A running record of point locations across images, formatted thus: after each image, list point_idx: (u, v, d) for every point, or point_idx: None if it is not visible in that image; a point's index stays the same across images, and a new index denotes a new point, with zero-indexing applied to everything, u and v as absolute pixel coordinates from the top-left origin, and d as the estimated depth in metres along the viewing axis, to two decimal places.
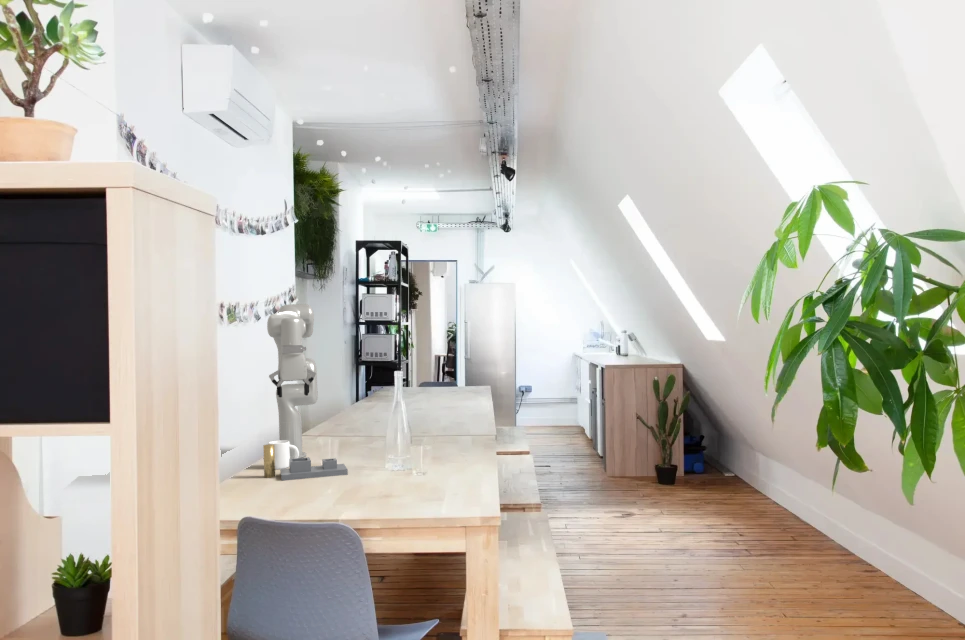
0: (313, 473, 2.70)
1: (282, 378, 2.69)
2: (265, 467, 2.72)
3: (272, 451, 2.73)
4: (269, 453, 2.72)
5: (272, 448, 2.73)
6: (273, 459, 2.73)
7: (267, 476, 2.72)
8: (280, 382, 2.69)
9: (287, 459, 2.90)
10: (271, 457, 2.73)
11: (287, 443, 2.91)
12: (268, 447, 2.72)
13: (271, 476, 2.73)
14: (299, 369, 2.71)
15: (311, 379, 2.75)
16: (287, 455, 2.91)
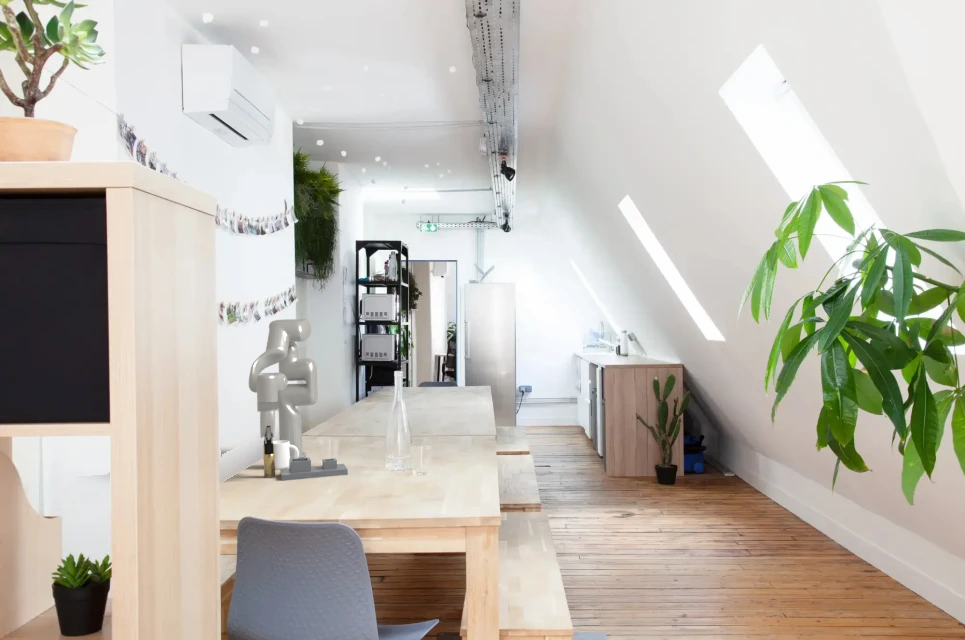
0: (313, 473, 2.70)
1: None
2: (265, 467, 2.72)
3: None
4: None
5: None
6: (273, 459, 2.73)
7: (267, 476, 2.72)
8: (272, 439, 2.70)
9: (287, 459, 2.90)
10: (271, 457, 2.73)
11: (287, 443, 2.91)
12: None
13: (271, 476, 2.73)
14: None
15: None
16: (287, 455, 2.91)
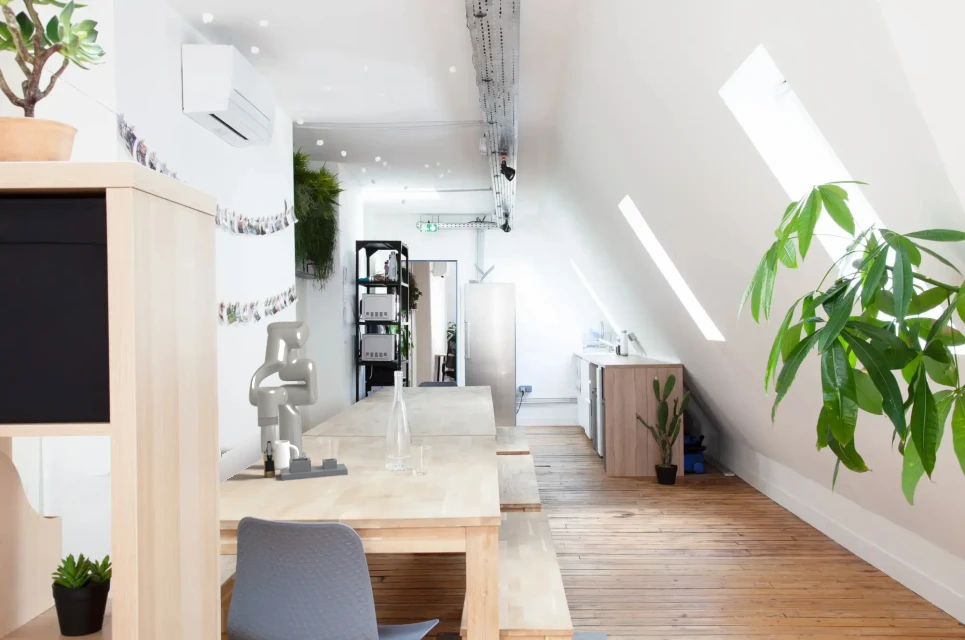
0: (313, 473, 2.70)
1: (274, 449, 2.71)
2: None
3: None
4: None
5: None
6: (273, 459, 2.73)
7: (267, 476, 2.72)
8: None
9: (287, 459, 2.90)
10: None
11: (287, 443, 2.91)
12: None
13: (271, 476, 2.73)
14: None
15: None
16: (287, 455, 2.91)
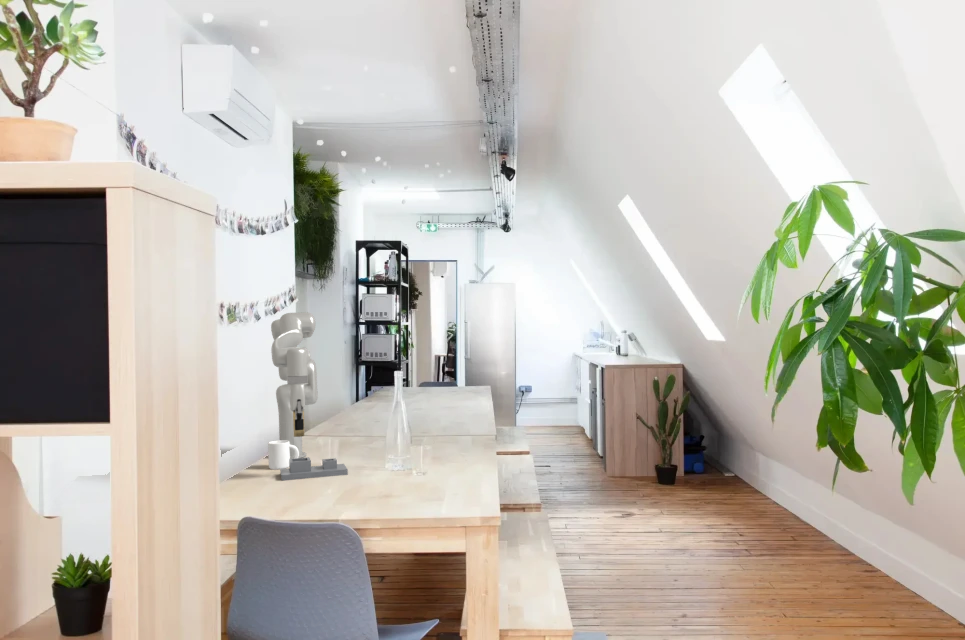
0: (313, 473, 2.70)
1: (304, 408, 2.71)
2: None
3: (301, 410, 2.73)
4: None
5: None
6: None
7: (297, 435, 2.73)
8: (302, 414, 2.72)
9: (287, 459, 2.90)
10: None
11: (287, 443, 2.91)
12: None
13: (300, 434, 2.73)
14: None
15: None
16: (287, 455, 2.91)
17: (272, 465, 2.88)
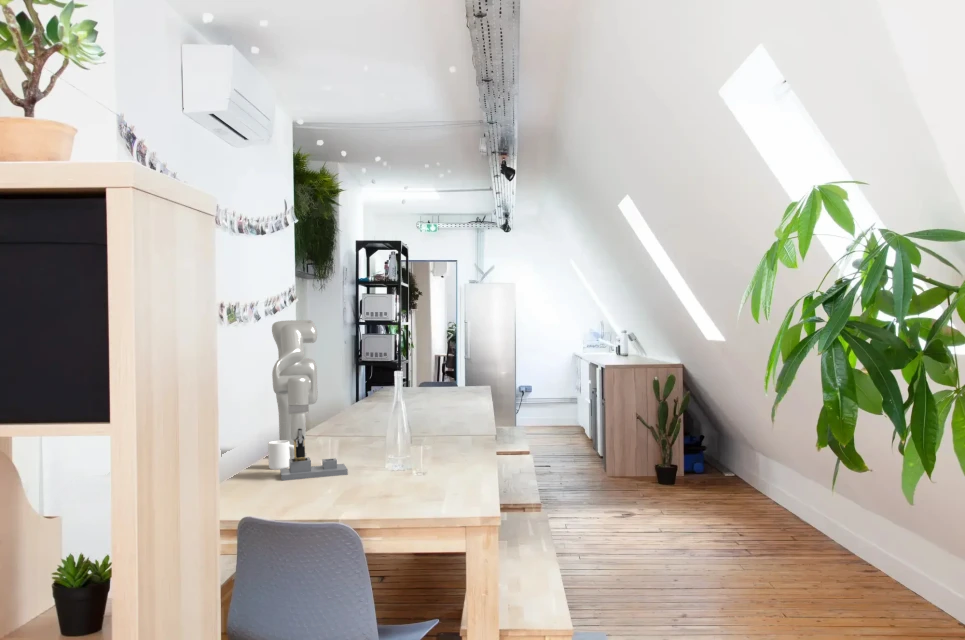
0: (313, 473, 2.70)
1: (305, 437, 2.71)
2: (296, 460, 2.73)
3: None
4: None
5: None
6: None
7: None
8: (303, 442, 2.71)
9: (287, 459, 2.90)
10: None
11: (287, 443, 2.91)
12: None
13: None
14: None
15: None
16: (287, 455, 2.91)
17: (272, 465, 2.88)
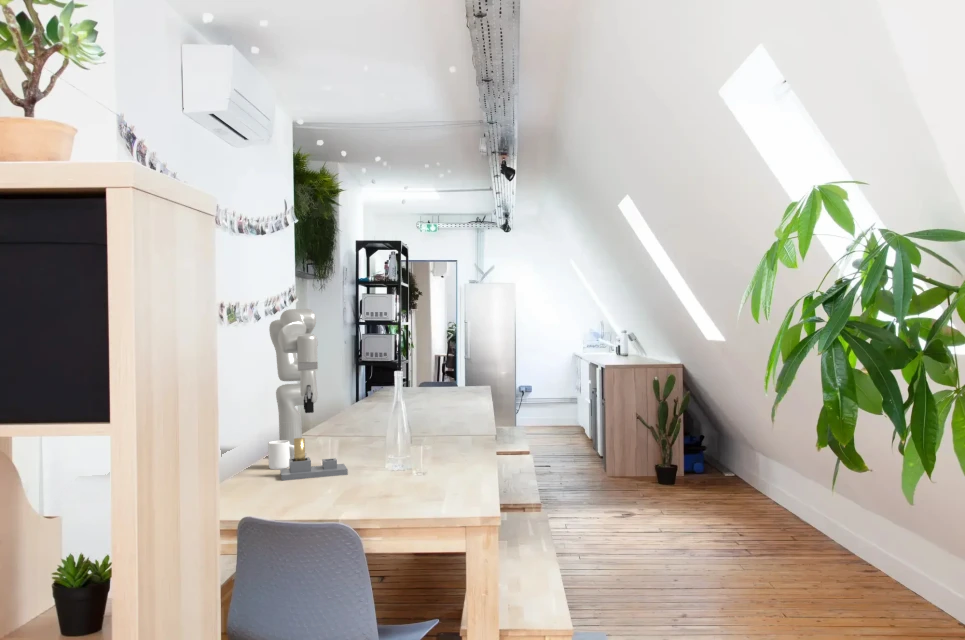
0: (313, 473, 2.70)
1: (314, 393, 2.77)
2: (296, 460, 2.73)
3: (302, 444, 2.74)
4: (300, 446, 2.73)
5: (302, 441, 2.74)
6: (303, 452, 2.74)
7: None
8: (312, 398, 2.76)
9: (287, 459, 2.90)
10: (301, 450, 2.73)
11: (287, 443, 2.91)
12: (299, 440, 2.73)
13: None
14: None
15: None
16: (287, 455, 2.91)
17: (272, 465, 2.88)
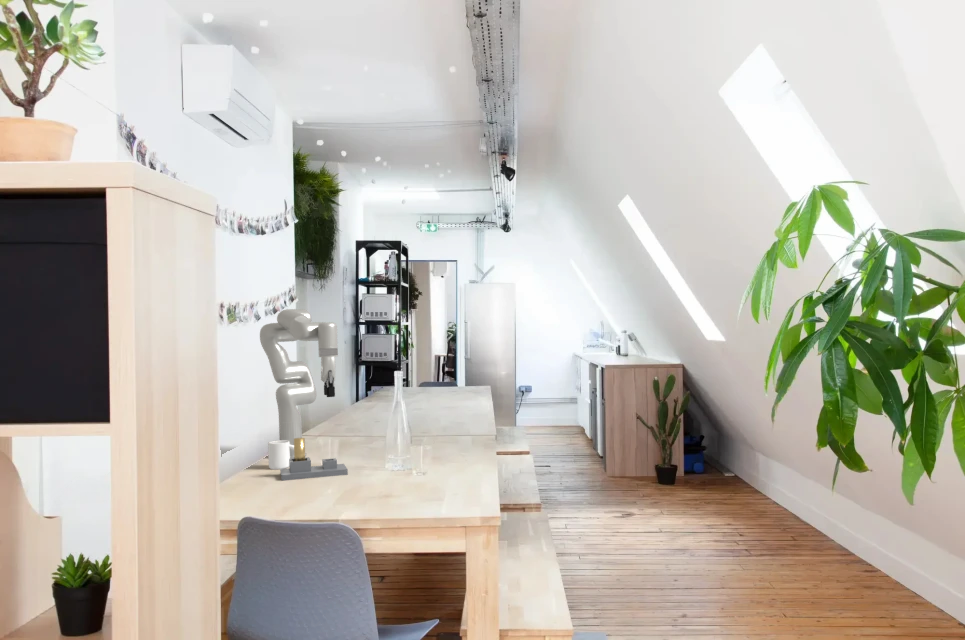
0: (313, 473, 2.70)
1: None
2: (296, 460, 2.73)
3: (302, 444, 2.74)
4: (300, 446, 2.73)
5: (302, 441, 2.74)
6: (303, 452, 2.74)
7: None
8: (333, 382, 2.87)
9: (287, 459, 2.90)
10: (301, 450, 2.73)
11: (287, 443, 2.91)
12: (299, 440, 2.73)
13: None
14: None
15: None
16: (287, 455, 2.91)
17: (272, 465, 2.88)
